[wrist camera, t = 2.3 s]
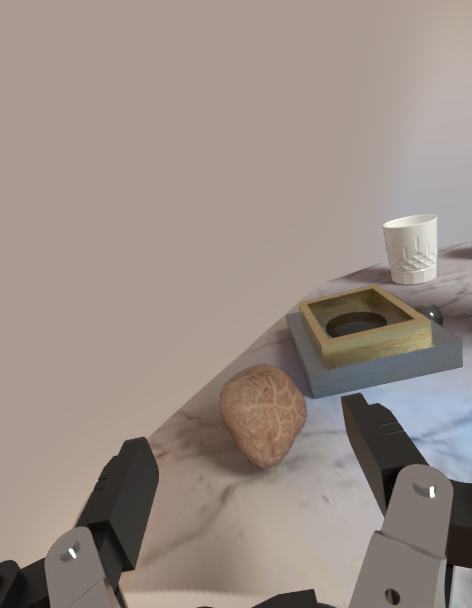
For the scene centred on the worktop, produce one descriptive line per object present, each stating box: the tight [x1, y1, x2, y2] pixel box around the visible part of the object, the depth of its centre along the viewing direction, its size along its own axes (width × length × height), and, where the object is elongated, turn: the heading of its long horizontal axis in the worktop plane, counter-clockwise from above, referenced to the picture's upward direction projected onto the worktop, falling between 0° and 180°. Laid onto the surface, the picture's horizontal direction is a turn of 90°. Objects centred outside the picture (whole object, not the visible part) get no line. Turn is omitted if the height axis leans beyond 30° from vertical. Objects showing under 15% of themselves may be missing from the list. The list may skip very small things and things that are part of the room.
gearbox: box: [286, 284, 463, 399], centre depth 41 cm, size 17×19×5 cm
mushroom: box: [220, 364, 307, 469], centre depth 27 cm, size 8×6×8 cm
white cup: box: [383, 214, 438, 285], centre depth 54 cm, size 8×8×10 cm
